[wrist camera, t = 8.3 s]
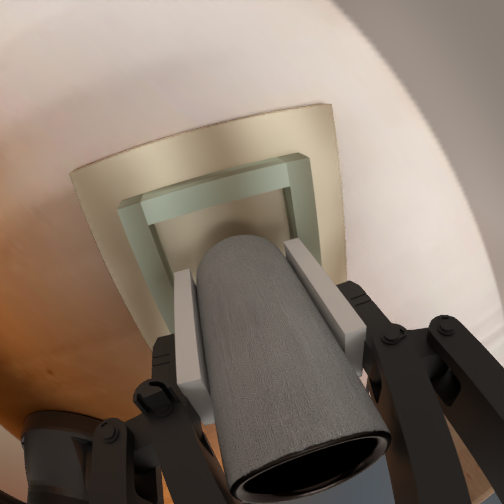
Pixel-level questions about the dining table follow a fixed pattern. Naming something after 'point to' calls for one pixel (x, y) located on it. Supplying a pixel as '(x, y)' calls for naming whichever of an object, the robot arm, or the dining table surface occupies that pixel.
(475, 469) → the block
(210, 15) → the dining table surface
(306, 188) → the stand
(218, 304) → the grey hollow tube
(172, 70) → the dining table surface
